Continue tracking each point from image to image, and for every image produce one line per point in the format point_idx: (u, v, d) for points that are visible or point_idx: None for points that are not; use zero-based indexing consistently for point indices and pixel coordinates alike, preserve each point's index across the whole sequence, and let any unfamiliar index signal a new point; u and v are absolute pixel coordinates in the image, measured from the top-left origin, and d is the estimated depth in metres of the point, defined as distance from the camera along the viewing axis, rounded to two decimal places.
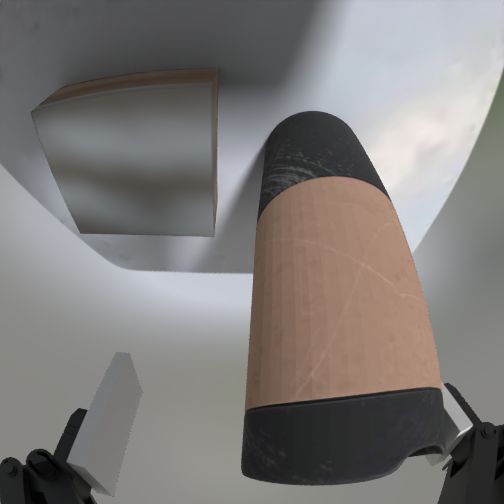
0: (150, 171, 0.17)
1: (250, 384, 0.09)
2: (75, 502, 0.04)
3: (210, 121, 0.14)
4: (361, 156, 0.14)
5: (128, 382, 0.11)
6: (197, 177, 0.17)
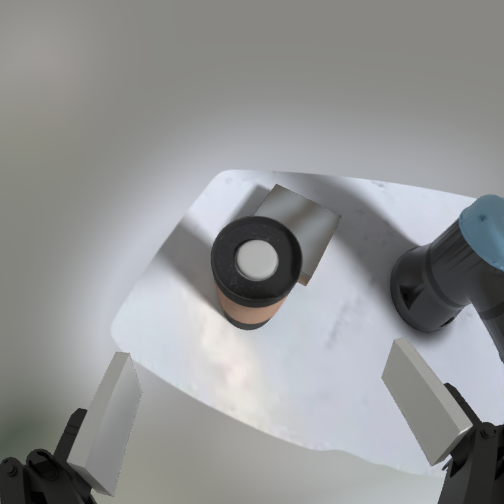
0: None
1: None
2: (75, 502, 0.04)
3: None
4: None
5: (128, 382, 0.11)
6: None
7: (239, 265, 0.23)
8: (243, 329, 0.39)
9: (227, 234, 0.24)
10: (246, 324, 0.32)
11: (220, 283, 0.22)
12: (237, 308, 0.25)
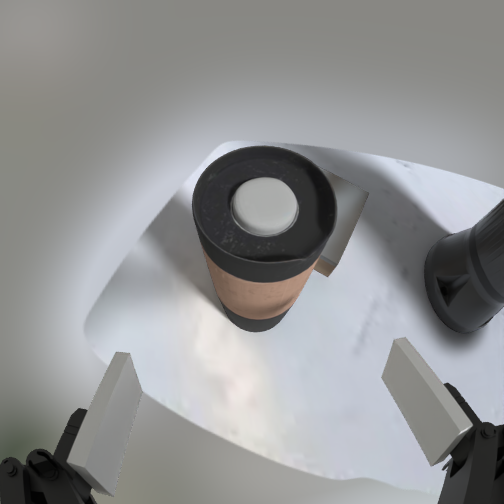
0: None
1: None
2: (75, 502, 0.04)
3: (321, 254, 0.31)
4: (282, 315, 0.26)
5: (128, 382, 0.11)
6: None
7: (237, 212, 0.14)
8: (249, 331, 0.30)
9: (220, 173, 0.16)
10: (252, 321, 0.23)
11: (205, 238, 0.13)
12: (236, 288, 0.16)
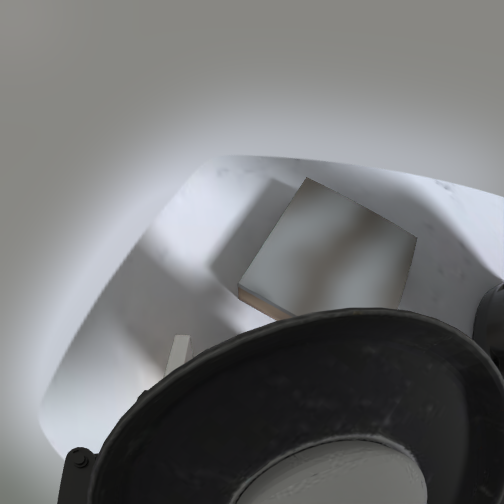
0: (337, 280, 0.21)
1: None
2: None
3: None
4: None
5: None
6: (315, 311, 0.20)
7: None
8: None
9: (167, 420, 0.03)
10: None
11: None
12: None
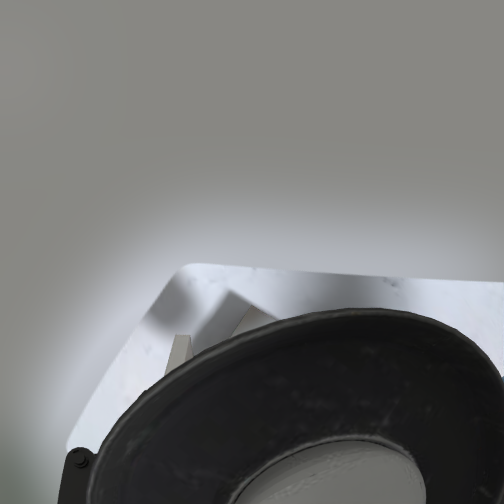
0: None
1: None
2: None
3: None
4: None
5: None
6: None
7: None
8: None
9: (166, 420, 0.03)
10: None
11: None
12: None
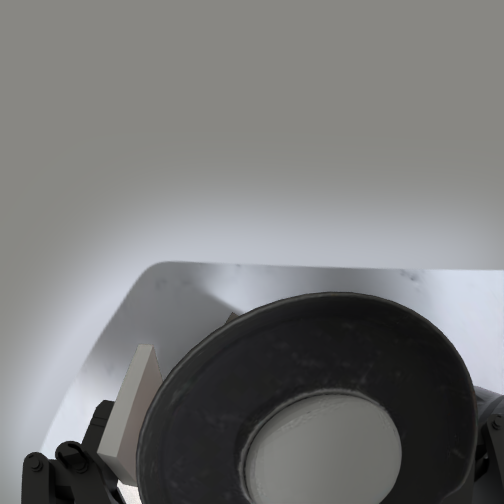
0: None
1: None
2: (104, 496, 0.05)
3: None
4: None
5: (152, 373, 0.12)
6: None
7: None
8: None
9: (202, 376, 0.05)
10: None
11: None
12: None
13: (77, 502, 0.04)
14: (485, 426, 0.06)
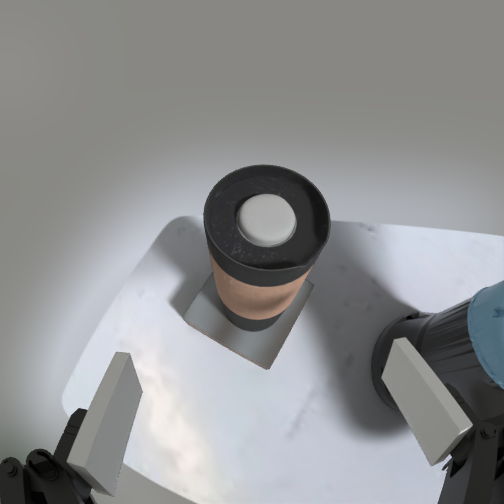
0: None
1: None
2: (75, 502, 0.04)
3: (253, 359, 0.31)
4: (280, 315, 0.28)
5: (128, 382, 0.11)
6: (227, 336, 0.32)
7: (243, 226, 0.16)
8: (249, 331, 0.32)
9: (225, 190, 0.18)
10: (254, 321, 0.25)
11: (218, 250, 0.15)
12: (243, 292, 0.18)
13: None
14: None
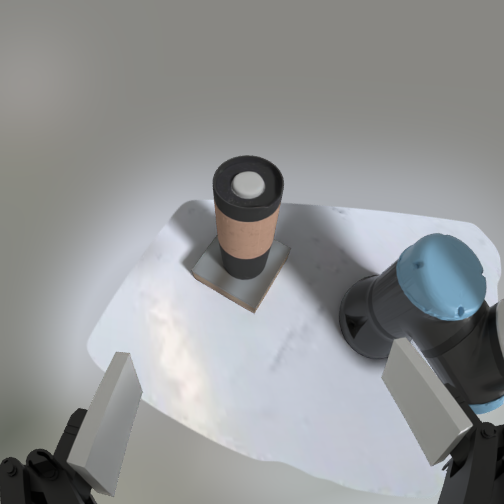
0: None
1: None
2: (75, 502, 0.04)
3: (243, 300, 0.44)
4: (262, 261, 0.40)
5: (128, 382, 0.11)
6: (225, 283, 0.45)
7: (234, 187, 0.29)
8: (240, 278, 0.44)
9: (225, 170, 0.30)
10: (242, 261, 0.38)
11: (220, 198, 0.28)
12: (234, 228, 0.31)
13: None
14: None
